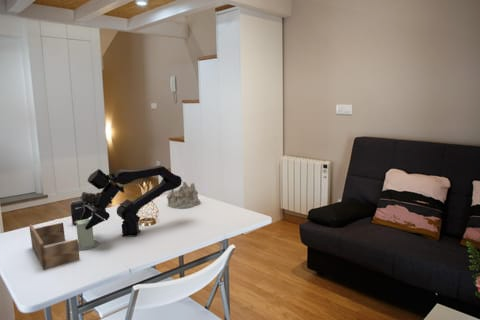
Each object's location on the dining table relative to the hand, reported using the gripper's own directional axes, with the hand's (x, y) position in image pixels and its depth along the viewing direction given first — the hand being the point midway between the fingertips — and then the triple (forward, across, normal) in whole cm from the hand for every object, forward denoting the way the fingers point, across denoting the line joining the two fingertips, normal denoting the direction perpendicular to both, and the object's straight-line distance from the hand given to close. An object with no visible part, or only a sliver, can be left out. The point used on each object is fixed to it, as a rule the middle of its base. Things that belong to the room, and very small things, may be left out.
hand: (82, 226), depth 152 cm
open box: (+14, 0, -2) cm, 14 cm away
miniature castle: (-36, -23, +49) cm, 65 cm away
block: (+5, 0, +6) cm, 8 cm away
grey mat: (+6, 0, +6) cm, 9 cm away
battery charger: (+2, -30, +10) cm, 32 cm away
